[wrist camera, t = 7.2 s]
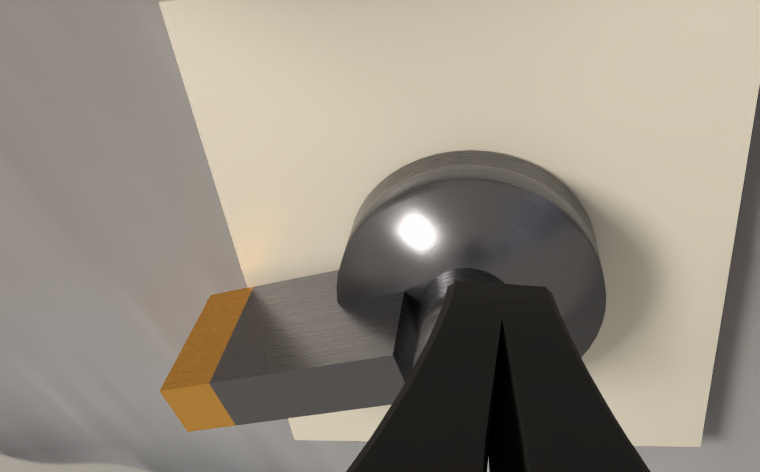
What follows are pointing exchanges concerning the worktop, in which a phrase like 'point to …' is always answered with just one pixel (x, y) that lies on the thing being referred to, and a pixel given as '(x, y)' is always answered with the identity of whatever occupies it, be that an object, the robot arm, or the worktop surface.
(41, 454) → the worktop surface
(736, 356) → the worktop surface
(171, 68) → the worktop surface
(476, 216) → the lever door handle
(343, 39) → the console plate
